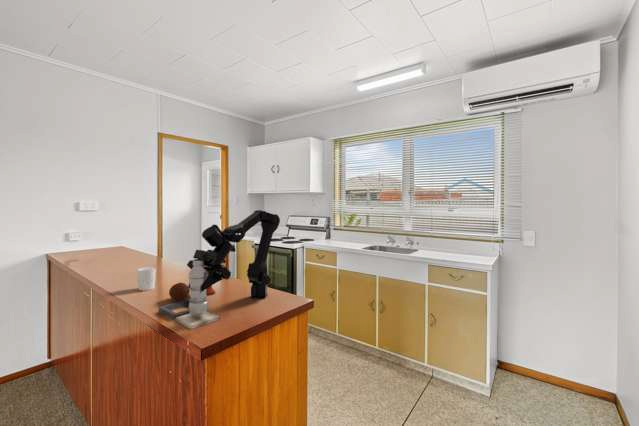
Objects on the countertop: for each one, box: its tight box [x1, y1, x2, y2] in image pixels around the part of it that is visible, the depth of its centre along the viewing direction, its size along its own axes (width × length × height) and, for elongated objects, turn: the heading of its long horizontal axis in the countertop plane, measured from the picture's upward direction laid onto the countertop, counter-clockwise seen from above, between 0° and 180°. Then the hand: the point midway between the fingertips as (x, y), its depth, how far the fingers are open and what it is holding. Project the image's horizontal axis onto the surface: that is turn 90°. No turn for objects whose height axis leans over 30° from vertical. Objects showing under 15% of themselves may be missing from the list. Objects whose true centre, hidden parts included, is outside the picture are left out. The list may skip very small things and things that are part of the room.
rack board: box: [174, 310, 221, 330], centre depth 108 cm, size 11×11×1 cm
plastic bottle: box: [188, 258, 209, 315], centre depth 108 cm, size 6×7×20 cm
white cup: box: [136, 266, 157, 292], centre depth 147 cm, size 8×8×10 cm
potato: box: [168, 282, 190, 303], centre depth 130 cm, size 8×12×8 cm, turn 53°
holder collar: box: [158, 298, 190, 321], centre depth 117 cm, size 12×12×2 cm
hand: (195, 289), depth 107 cm, fingers closed on plastic bottle, 6 cm apart
